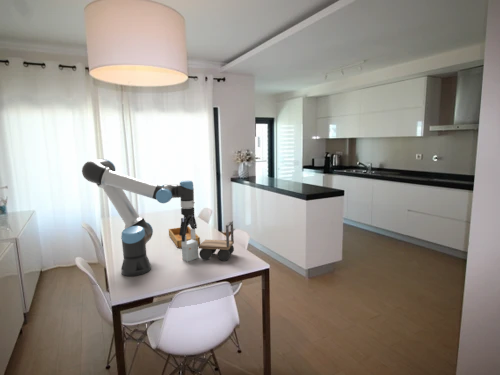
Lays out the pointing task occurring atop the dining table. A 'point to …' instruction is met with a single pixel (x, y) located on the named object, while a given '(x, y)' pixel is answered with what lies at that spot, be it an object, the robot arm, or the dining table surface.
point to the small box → (190, 250)
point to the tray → (177, 239)
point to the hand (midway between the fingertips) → (188, 242)
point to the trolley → (218, 246)
